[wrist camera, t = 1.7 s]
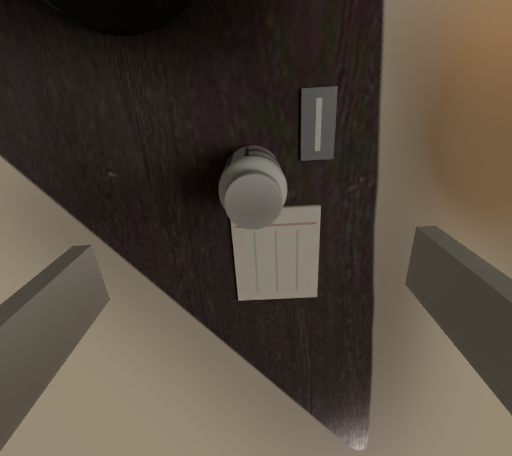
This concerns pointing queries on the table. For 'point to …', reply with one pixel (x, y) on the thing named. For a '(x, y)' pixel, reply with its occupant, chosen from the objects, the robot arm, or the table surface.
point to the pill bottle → (252, 188)
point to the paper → (279, 256)
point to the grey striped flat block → (318, 123)
